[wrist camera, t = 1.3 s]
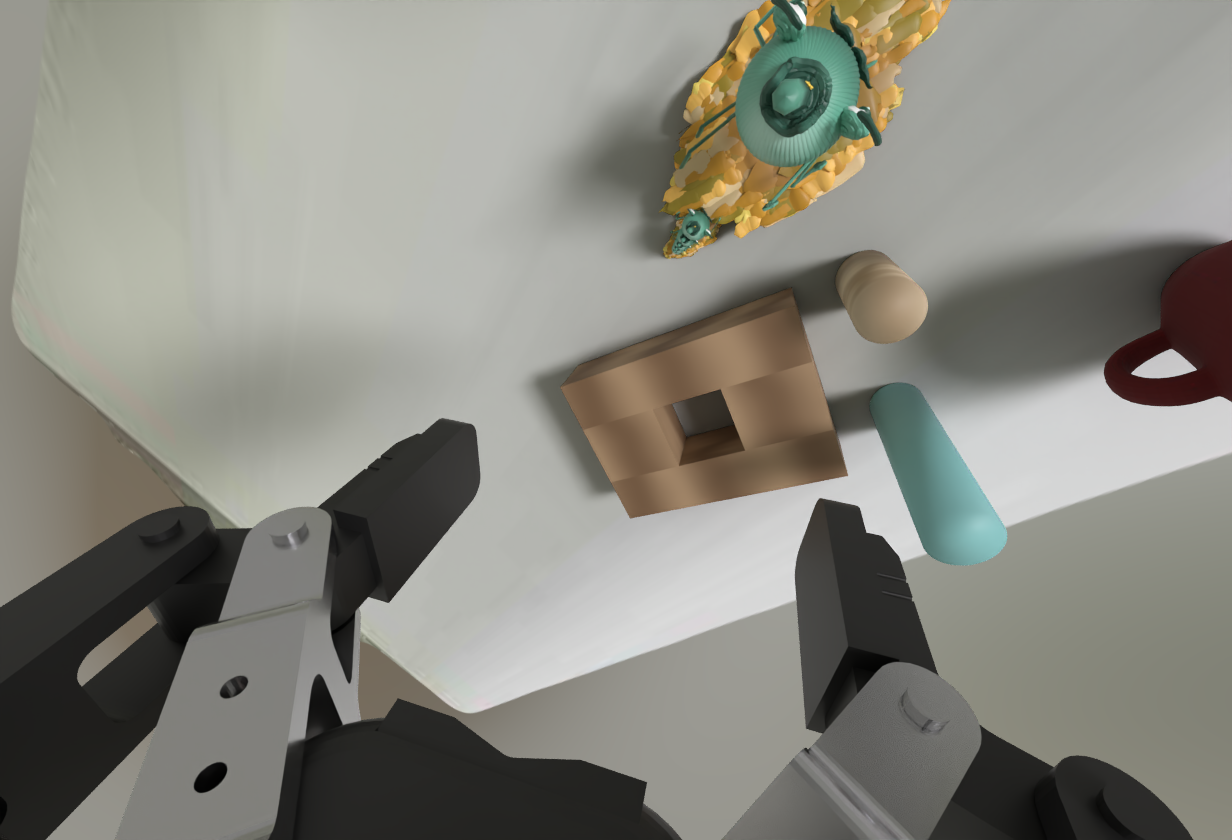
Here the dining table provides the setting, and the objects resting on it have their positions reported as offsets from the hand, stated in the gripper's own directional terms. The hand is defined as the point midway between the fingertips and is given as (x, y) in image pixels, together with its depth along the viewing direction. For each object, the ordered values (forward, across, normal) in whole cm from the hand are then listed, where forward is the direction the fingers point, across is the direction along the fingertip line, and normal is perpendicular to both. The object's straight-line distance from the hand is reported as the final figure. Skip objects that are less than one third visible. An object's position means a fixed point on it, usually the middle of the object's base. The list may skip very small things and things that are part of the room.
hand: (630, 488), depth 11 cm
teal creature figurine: (+24, -2, -8) cm, 25 cm away
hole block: (+24, -1, +10) cm, 26 cm away
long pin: (+24, -13, +7) cm, 28 cm away
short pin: (+24, -9, -1) cm, 25 cm away
